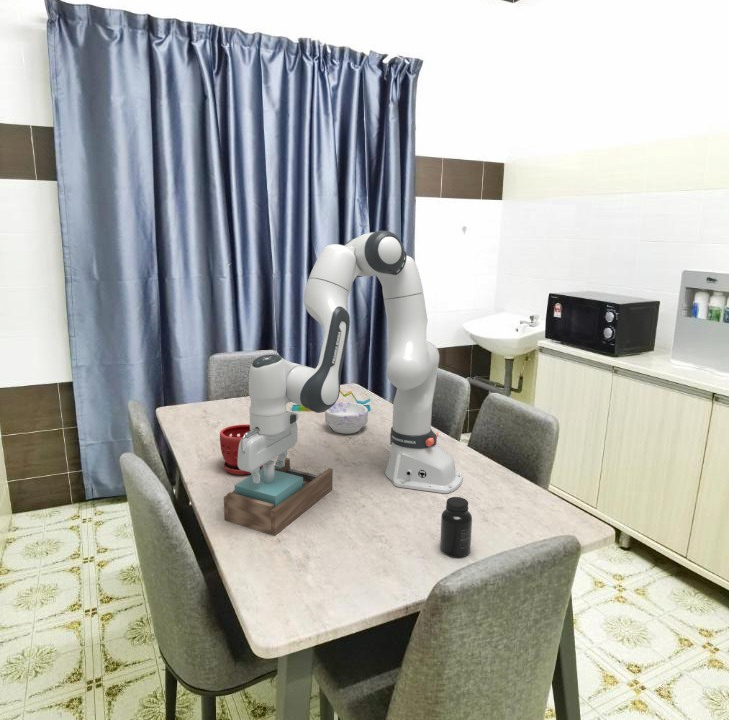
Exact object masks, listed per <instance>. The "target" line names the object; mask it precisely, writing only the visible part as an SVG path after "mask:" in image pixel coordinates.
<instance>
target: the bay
mask: <svg viewBox="0 0 729 720" xmlns="http://www.w3.org/2000/svg"><path fill="white" fill-rule="evenodd" d="M274 469H275V470H276V471H280V472H284V473H288V474H292V475H296V476H300V477H303V482H304V487H302V488H301V489H300V490H298V491H297V492H296V493H294V494H293V495H291V496H290V497H289V498H287V499H286V500H285V501H283V502H282V503H281V504H279V505H278V506H276V507H275V508H274V504H270V503H267V502H263V501H260V500H256V499H253V498H249V497H245V496H242V495H238V494H235V489H234V490H233V491H230V492H228V493H227V494H226V495H225V496H223V510H224V511H223V513H224V515H223V516H224V518H223V519H224V521H226V522H229V523H233V524H236V525H240V526H242V527H245V528H249V529H252V530H255V531H258V532H262V533H264V534H268V535H271V536H275V537H276V536H277V535H278V534H279V533H281V532H282V531H283V530H284V529H286V528H287V527H288V526H290V524H291V523H293V522H294V521H295V520H298V518H299V517H300V516H302V515H303V514H304V513H305V512H307V511H308V510H309V509H311V507H313V506H314V505H315V504H317V503H318V502H319V501H320V500H322V499H323V498H324V497H325V496H326V495H328V494H329V493H330V492H332V490H333V468H331V467H328V468H327V469H325V470H324V471H323V472H321V473H320V474H318V475H317V474H314V473H309V472H306V471H305V472H304V471H301V470H297V469H293V468H291V458H287V457H286V459H285V466H284V467H283V468H281V469H279V468H276V464H274Z"/></svg>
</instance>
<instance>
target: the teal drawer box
mask: <svg viewBox="0 0 729 720" xmlns="http://www.w3.org/2000/svg"><path fill="white" fill-rule="evenodd" d="M274 466H275V461H274V460H273V459H272V460H270V461H269V462H267V463H265V464H264V465H263V467H261V468H260V470H259V471H258V472H259V474H261V475H262V481H261V482H260V483H258V484H257V483H254V482H253V476H252V474H251V475H250V476H248V477H246V478H245V479H243V480H242V481H241V480H240V481H239V482H238V483H236V484H235V485H234V490H235V494H238V495H242V496H245V497H249V498H253V499H256V500H260V501H263V502H267V503H270V504H274V508H275V507H276V506H278V505H279V504H281V503H282V502H283V501H285V500H286V499H287V498H289V497H290V496H291V495H293V494H294V493H296V492H297V491H298V490H300V489H301V488H302V487H304V482H303V477H300V476H296V475H292V474H288V473H284V472H280V471H276V470H275V469H274Z"/></svg>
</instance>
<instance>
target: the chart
mask: <svg viewBox="0 0 729 720" xmlns="http://www.w3.org/2000/svg"><path fill="white" fill-rule="evenodd" d="M339 394H341V395H342V396H343V397H344V398H346V397H347V396H349V395H351V396H352V397H353V399H354V401H355V403H358V404H361V405H364V406H365V407H366V408H367V409H368V412H371V406H370V404H367V403H369V402H371V398H368V399H366V400H364V401H362V400H359V399H357V398H356V397H355V395H354V393H353V392H352V390H350V391H348V392H346V393H344V392H343V391H342V390H341V389H340V393H339ZM291 409H292V411H291V412H313V411H312V410H309V409H307V408H305V407H304V406H301V405H298V404H292V406H291Z"/></svg>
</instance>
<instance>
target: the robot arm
mask: <svg viewBox="0 0 729 720" xmlns="http://www.w3.org/2000/svg"><path fill="white" fill-rule="evenodd" d="M418 269H419V268H418V267H417V264H416V261H415V259H414V258H412V257H411V256H409V255H407V252H406V250H405V247H404V245H403V242H402V240H401V239H400V238H399V236H397V234H395V233H394V232H392V231H388V230H377V231H374V232H373V231H372V232H367V233H364V234H361V235H359V236H357V237H355V238H351V239H349V240H348V241H347V242H345V243H344V244H337V243H333V244H327V245H326V246H325V247H324V248H323V249H322V250H321V252H320V254H319V255H318V257H317V259H316V261H315V263H314V264H313V268H312V269H311V272H310V273H309V277H308V279H307V283H306V286H305V287H304V291H303V297H302V300H303V301H302V302H303V305H304V308H305V310H306V311H307V313H308V314H309V315H310V316H311V317H312V318H313V319H314V320H315V321H316V322H318V323H319V324H320V326H321V328H322V330H323V341H322V345H321V350H320V355H319V359H318V364H317V366H316V368H314V367H311V366H307V365H303V364H301V363H300V364H299V363H295V362H291V361H289V360H287V359H284V358H283V357H282V356H281V355H279V354H273V353H271V354H264V355H260V356H258V357H257V358H254V360H252V362H251V364H250V367H249V374H248V395H249V398H250V406H249V412H248V413H249V425H250V430H251V431H249V432H246V433H245V434H244V436H243V438H242V439H241V441H240V443H239V448H238V468H239V469H240V470H243V471H246V472H250V474H251V475H252V476H253V482H254V483H257V484H258V483H260V482H261V481H262V475H261V474H259V472H258V471H259V470H261V468H260V466H262V465H263V466H264V464H265V463H267V462H269V461H270V460H272V461H273V460H274V459H276V458H277V460H275V465H276V468H279V469H281V468H283V467H284V466H285V459H286V458H287V456H288V450H290V449H293V448H294V447H295V446H296V445H297V442H298V423H297V421H298V419H299V414H298V413H296V412H295V411H291V410H290V411H289V410H287V404H288V403H292V404H294V405H301V406H304V407H305V408H307V409H309V410H312V411H311V412H314V413H317V414H321V413H325V411H326V410H328V409H330V408H331V407H332V406H333V405H334V404H335V403H337V401H338V399H339V397H340V394H341V393H340V390H341V375H342V370H343V369H342V368H343V364H344V360H345V359H344V358H345V353H346V349H347V343H348V338H349V333H350V332H349V331H350V326H351V319H350V318H351V317H350V313H349V312H348V310H347V309H348V308H347V307H348V305H347V304H348V299H349V295H350V292H351V289H352V287H353V283H354V281H355V279H356V278H363V277H375V276H376V277H377V279H378V281H379V282H380V284H381V287H382V296H383V297H382V298H383V304H384V308H385V310H384V311H385V315H386V321H387V323H386V324H387V333H388V334H387V335H388V336H387V356H388V357H387V365H386V373H385V374H386V378H387V379H388V381H389V382H390V384H391V385H392V386H393V387H395V388H396V391H395V396H394V397H393V398H394V399H393V402H392V403H393V405H392V425H391V427H390V435H389V437H390V439H389V441H390V443H389V445H390V452H389V458H388V461H387V466H386V469H385V472H384V474H385V476H386V477H387V478H388V479H389V480H390V481H391V482H392V484H393V486H395V487H397V488H405V489H411V490H418V491H426V492H432V493H439V494H449V493H452V492H454V491H456V490H458V488H459V487H460V486H461V485H462V483H463V481H464V478H463V474H462V472H461V471H458V470H456V463H455V459H454V458H453V456H452V455H451V454H449V452H448V451H446V450H445V449H444V448H443V447H442V446H441V445H439V444H438V442H437V439H438V437H439V432H438V431H437V432H436V433H435V432H434V431H433V429H432V428H431V427H432V413H433V412H432V411H433V400H434V395H435V389H436V384H437V376H438V368H439V363H440V352H439V350H438V348H437V346H436V345H435V344H433V343H432V342H430V341H427V331H428V330H427V326H428V316H427V315H428V314H427V313H428V312H427V309H426V300H425V296H424V295H425V294H424V289H423V284H422V279H421V277H420V276H421V275H420V272H419V270H418ZM263 466H262V467H263Z"/></svg>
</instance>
